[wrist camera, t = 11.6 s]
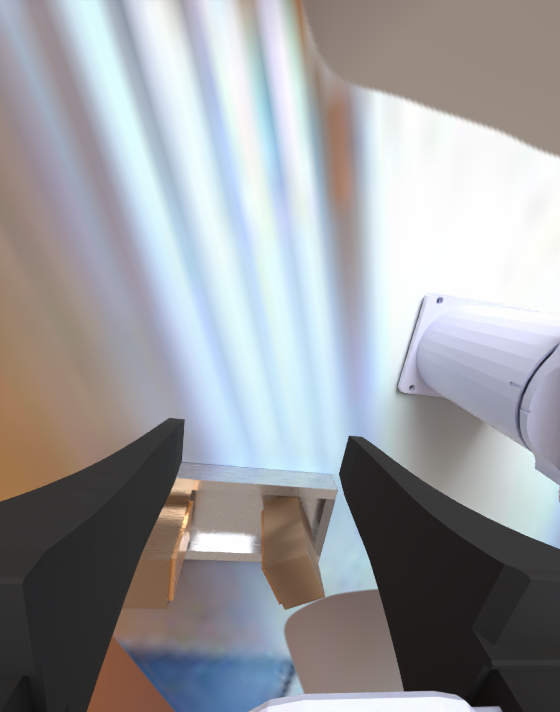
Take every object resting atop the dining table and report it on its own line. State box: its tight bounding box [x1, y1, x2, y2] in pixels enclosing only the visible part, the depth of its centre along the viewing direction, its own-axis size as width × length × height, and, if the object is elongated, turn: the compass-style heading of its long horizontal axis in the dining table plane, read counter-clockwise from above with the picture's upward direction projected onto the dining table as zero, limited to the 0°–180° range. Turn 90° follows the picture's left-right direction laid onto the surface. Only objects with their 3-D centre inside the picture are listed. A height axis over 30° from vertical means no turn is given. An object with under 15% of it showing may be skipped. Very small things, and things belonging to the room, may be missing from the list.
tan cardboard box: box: [261, 496, 325, 610], centre depth 20 cm, size 3×4×6 cm
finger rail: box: [122, 463, 338, 609], centre depth 21 cm, size 15×8×6 cm, turn 81°
